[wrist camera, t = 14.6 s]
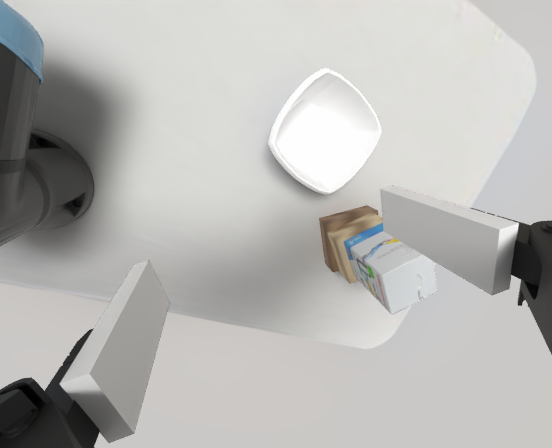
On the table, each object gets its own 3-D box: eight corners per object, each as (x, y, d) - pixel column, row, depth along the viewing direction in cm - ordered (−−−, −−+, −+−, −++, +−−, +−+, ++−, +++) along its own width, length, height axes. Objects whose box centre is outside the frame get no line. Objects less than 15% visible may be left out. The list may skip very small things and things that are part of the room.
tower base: (324, 262, 58) (333, 272, 54) (318, 217, 54) (327, 225, 49) (368, 249, 59) (380, 257, 55) (365, 205, 55) (378, 210, 51)
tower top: (340, 272, 54) (350, 283, 50) (326, 232, 50) (337, 242, 46) (381, 252, 55) (394, 262, 50) (371, 212, 51) (385, 219, 47)
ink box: (342, 241, 46) (380, 274, 35) (383, 221, 47) (433, 248, 36) (353, 276, 49) (392, 317, 39) (392, 258, 50) (440, 292, 39)
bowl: (308, 193, 51) (331, 208, 41) (246, 142, 45) (255, 145, 35) (358, 129, 49) (396, 128, 38) (300, 68, 43) (327, 48, 33)
